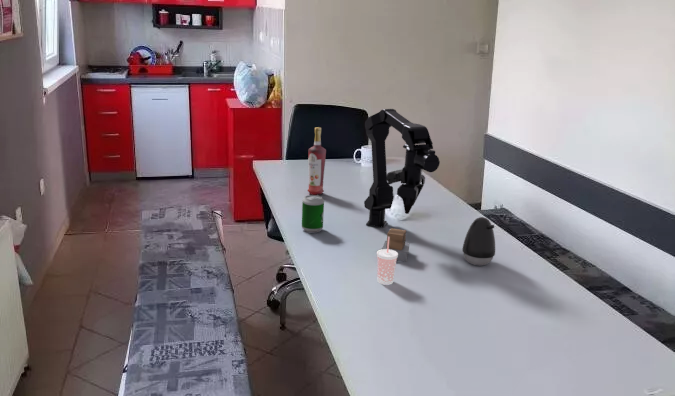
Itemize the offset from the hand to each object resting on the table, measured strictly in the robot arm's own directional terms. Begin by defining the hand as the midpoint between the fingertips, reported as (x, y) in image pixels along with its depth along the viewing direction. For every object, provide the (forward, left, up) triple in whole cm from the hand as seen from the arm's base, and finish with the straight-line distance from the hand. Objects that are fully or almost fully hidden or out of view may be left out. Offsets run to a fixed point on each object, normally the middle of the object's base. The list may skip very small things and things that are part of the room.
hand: (409, 209), depth 210 cm
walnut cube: (+12, -2, -9) cm, 15 cm away
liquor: (-42, -46, -13) cm, 64 cm away
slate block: (+12, -2, -13) cm, 17 cm away
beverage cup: (+33, -1, -13) cm, 35 cm away
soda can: (0, -34, -13) cm, 36 cm away
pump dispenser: (+8, +24, -13) cm, 28 cm away
